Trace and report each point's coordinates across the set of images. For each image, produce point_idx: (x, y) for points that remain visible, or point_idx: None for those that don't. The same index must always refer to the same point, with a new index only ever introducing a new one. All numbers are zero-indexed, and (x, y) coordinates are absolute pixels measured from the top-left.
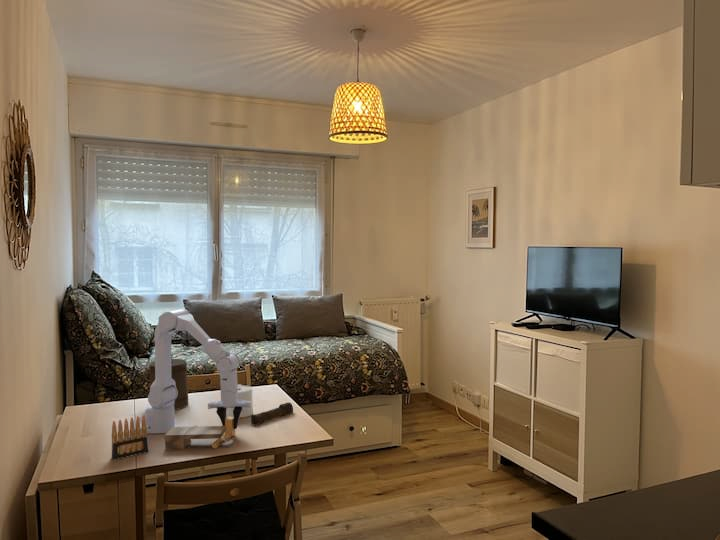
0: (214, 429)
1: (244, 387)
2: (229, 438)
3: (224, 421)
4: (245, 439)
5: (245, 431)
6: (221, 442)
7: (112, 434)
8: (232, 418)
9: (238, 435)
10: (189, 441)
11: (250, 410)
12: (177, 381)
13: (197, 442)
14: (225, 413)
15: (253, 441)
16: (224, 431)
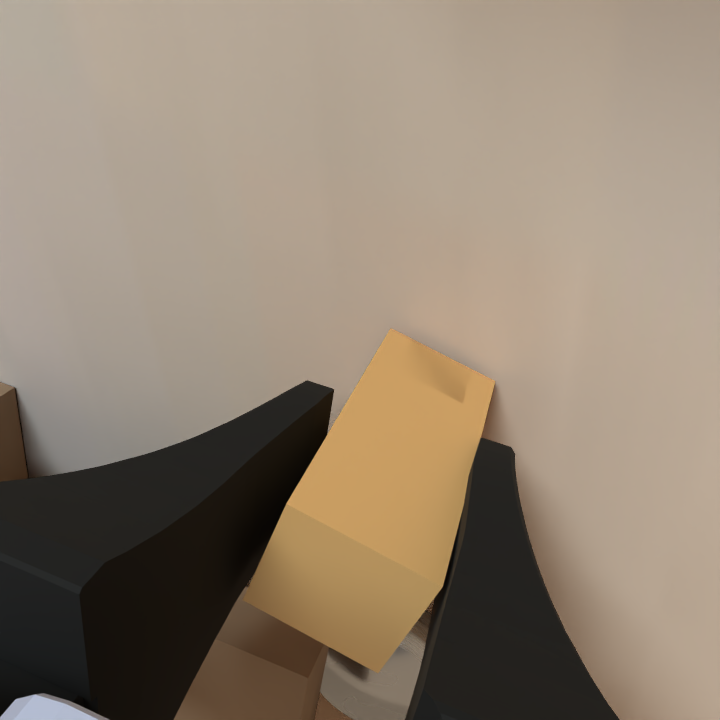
0: (180, 713)
1: None
2: (403, 656)
3: (254, 557)
4: (621, 595)
5: (688, 289)
6: (325, 692)
7: None
8: (384, 631)
9: (541, 424)
10: (9, 437)
11: None
12: None
13: (88, 446)
14: (190, 574)
15: (714, 692)
16: (315, 700)
